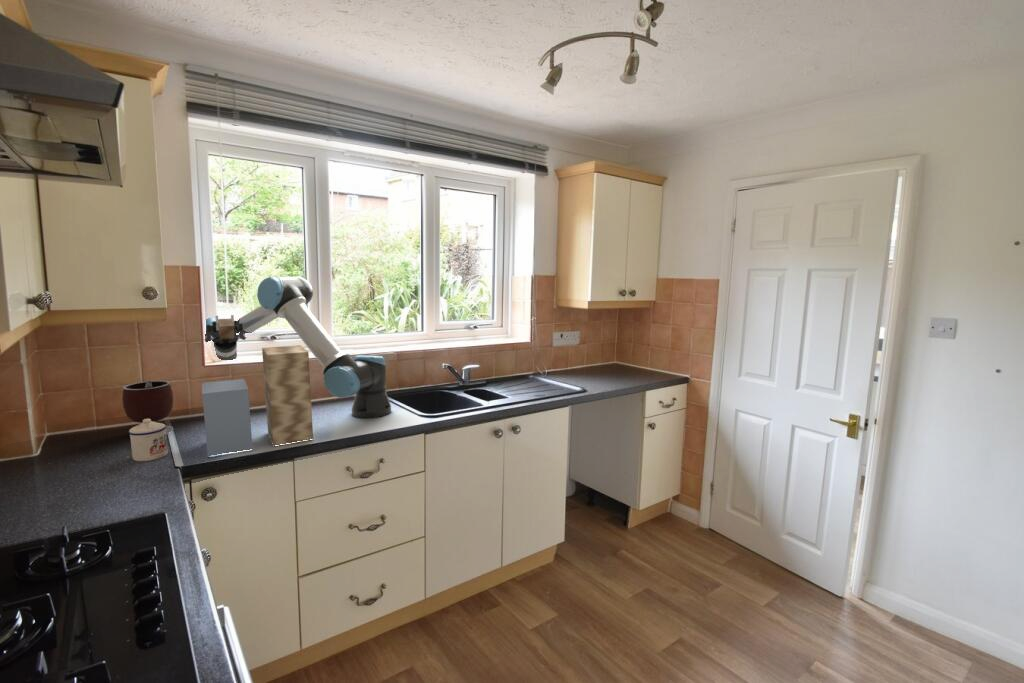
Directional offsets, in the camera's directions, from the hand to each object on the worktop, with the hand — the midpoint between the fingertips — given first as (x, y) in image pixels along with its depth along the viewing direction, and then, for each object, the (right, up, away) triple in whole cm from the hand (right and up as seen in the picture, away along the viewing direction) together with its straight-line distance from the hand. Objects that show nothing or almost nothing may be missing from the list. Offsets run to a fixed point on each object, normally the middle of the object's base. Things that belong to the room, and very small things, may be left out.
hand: (224, 318), depth 171 cm
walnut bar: (+3, -5, -4) cm, 7 cm away
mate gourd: (-24, -40, -1) cm, 47 cm away
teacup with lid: (-10, -43, -20) cm, 48 cm away
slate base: (+9, -42, -13) cm, 45 cm away
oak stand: (+24, -40, -4) cm, 47 cm away
